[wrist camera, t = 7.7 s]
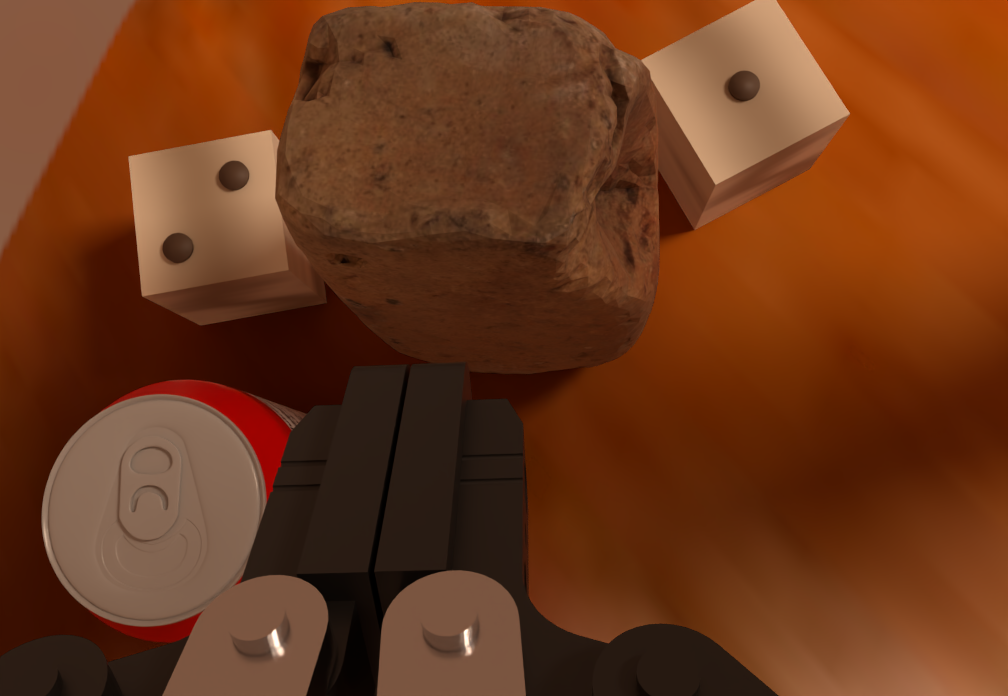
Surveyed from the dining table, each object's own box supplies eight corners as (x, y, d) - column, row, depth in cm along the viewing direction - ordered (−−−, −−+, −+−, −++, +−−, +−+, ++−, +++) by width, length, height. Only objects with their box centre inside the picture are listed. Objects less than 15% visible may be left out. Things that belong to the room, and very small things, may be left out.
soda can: (389, 416, 41) (290, 365, 26) (390, 596, 39) (285, 651, 24) (218, 421, 41) (25, 374, 26) (213, 599, 40) (5, 655, 25)
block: (391, 369, 41) (231, 243, 21) (410, 210, 42) (276, -48, 22) (631, 391, 40) (696, 280, 20) (644, 228, 41) (717, -24, 22)
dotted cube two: (311, 181, 43) (269, 127, 37) (327, 303, 42) (287, 268, 36) (188, 204, 43) (126, 154, 37) (201, 325, 42) (139, 295, 36)
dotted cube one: (742, 63, 42) (771, -11, 36) (809, 169, 41) (851, 111, 35) (629, 122, 42) (640, 58, 36) (694, 230, 41) (716, 183, 35)
